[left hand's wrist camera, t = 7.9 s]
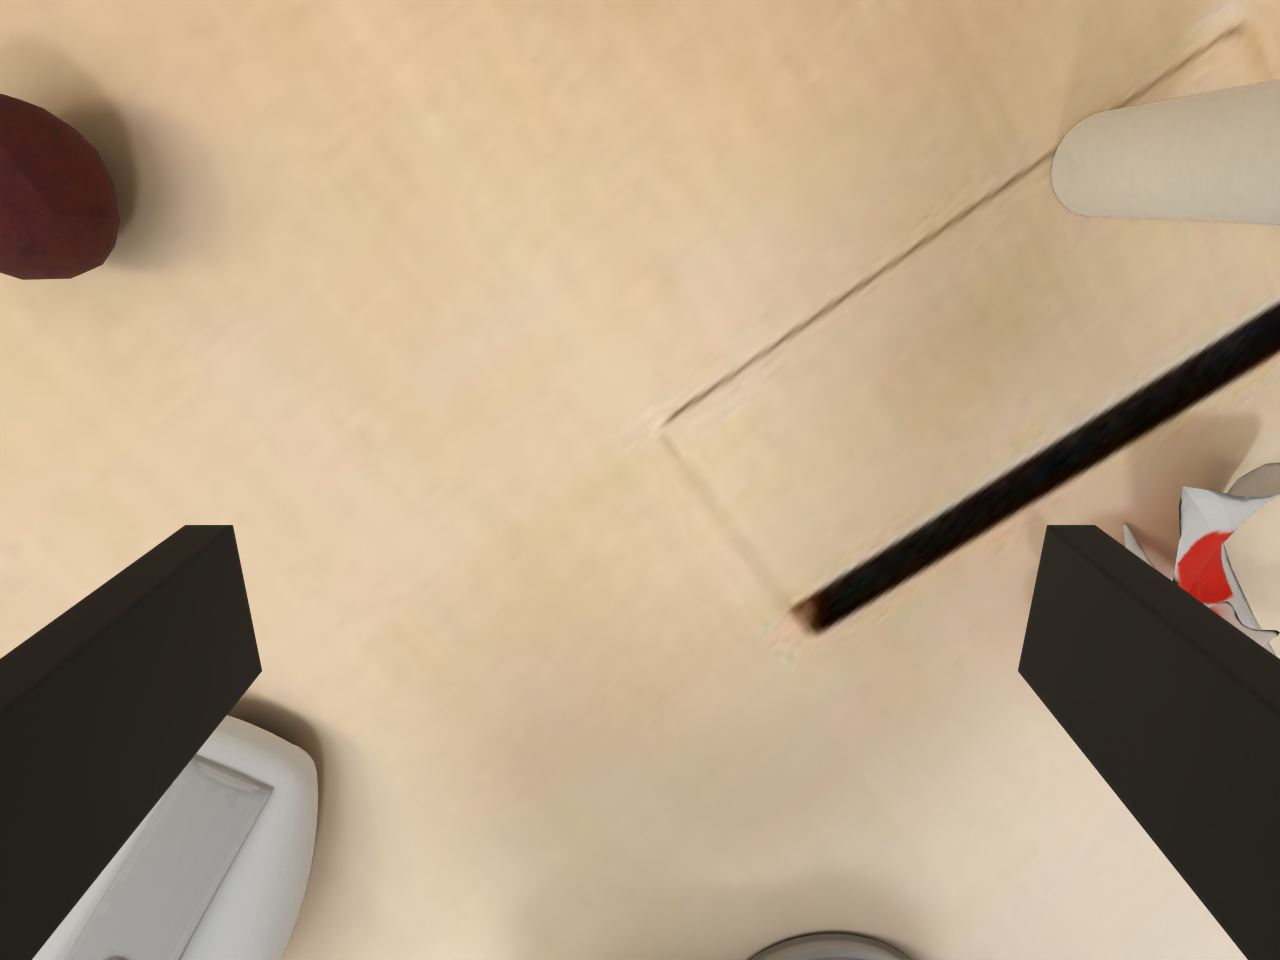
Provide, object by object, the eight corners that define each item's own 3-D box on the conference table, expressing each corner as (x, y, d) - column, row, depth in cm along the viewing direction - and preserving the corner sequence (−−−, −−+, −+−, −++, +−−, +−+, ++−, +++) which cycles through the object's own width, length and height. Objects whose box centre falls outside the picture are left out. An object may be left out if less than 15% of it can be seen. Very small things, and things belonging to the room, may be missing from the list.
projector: (426, 935, 53) (352, 1192, 39) (134, 1004, 56) (-32, 1269, 42) (281, 676, 46) (128, 880, 32) (-49, 769, 48) (-322, 996, 35)
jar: (1058, 113, 36) (1383, 48, 20) (1159, 108, 35) (1565, 39, 20) (1044, 218, 37) (1335, 235, 22) (1140, 214, 37) (1502, 227, 21)
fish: (974, 560, 38) (1190, 674, 30) (1164, 380, 42) (1401, 441, 34) (995, 679, 45) (1178, 798, 37) (1158, 514, 48) (1356, 591, 41)
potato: (64, 69, 35) (-72, 39, 28) (188, 219, 37) (90, 225, 30) (-44, 166, 36) (-197, 160, 30) (82, 306, 38) (-34, 329, 32)
